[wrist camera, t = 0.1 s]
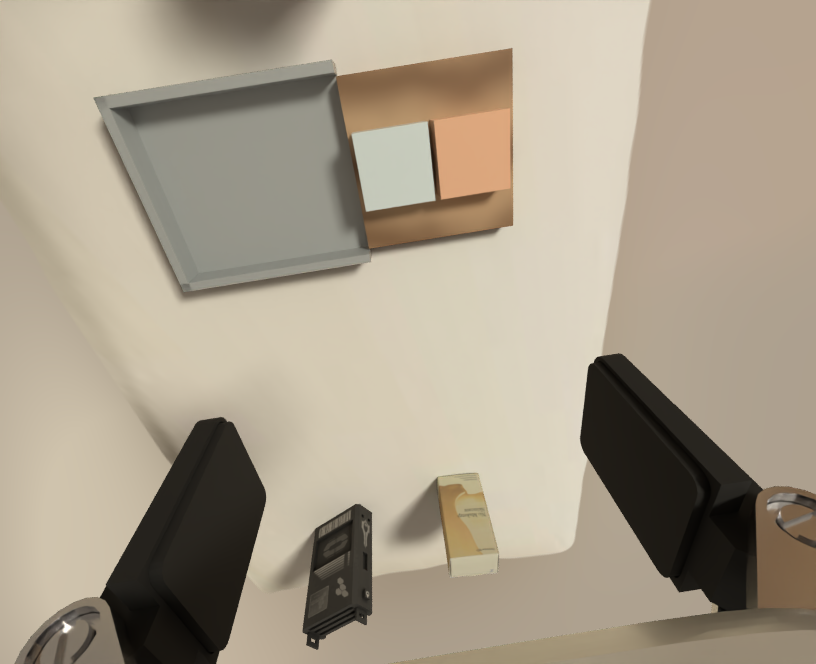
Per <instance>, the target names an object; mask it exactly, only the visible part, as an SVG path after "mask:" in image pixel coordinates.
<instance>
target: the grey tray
mask: <svg viewBox="0 0 816 664" xmlns="http://www.w3.org/2000/svg"><path fill="white" fill-rule="evenodd" d="M336 76H337V72H336V67H335V63H334V62H333V61H332V60H326V61H320V62H314V63H308V64H301V65H295V66H289V67H283V68H276V69H270V70H264V71H257V72H251V73H245V74H239V75H232V76H226V77H220V78H214V79H207V80H201V81H195V82H189V83H182V84H176V85H170V86H163V87H157V88H151V89H145V90H138V91H132V92H126V93H120V94H113V95H107V96H101V97H94V100H95V103H96V105H97V107H98V109H99V111H100V113H101V115H102V118H103V120H104V122H105V124H106V126H107V128H108V131H109V133H110V135H111V137H112V139H113V141H114V143H115V146H116V148H117V150H118V152H119V154H120V156H121V158H122V161H123V163H124V165H125V167H126V169H127V171H128V174H129V176H130V178H131V180H132V182H133V184H134V186H135V189H136V191H137V193H138V195H139V197H140V199H141V201H142V204H143V206H144V208H145V210H146V212H147V214H148V217H149V219H150V221H151V223H152V225H153V227H154V229H155V232H156V234H157V236H158V238H159V240H160V242H161V244H162V247H163V249H164V251H165V253H166V255H167V257H168V260H169V262H170V264H171V266H172V268H173V270H174V272H175V275H176V277H177V279H178V281H179V283H180V285H181V288H182V290H183V292H189V291H195V290H201V289H207V288H213V287H220V286H226V285H232V284H238V283H244V282H251V281H257V280H263V279H269V278H275V277H282V276H288V275H294V274H300V273H306V272H313V271H319V270H325V269H331V268H337V267H344V266H350V265H356V264H362V263H368V262H371V249H369V245H368V240H367V235H366V230H365V225H364V219H363V214H362V209H361V204H360V199H359V194H358V188H357V183H356V178H355V173H354V168H353V163H352V157H351V152H350V147H349V142H348V137H347V132H346V126H345V121H344V116H343V111H342V106H341V101H340V95H339V90H338V85H337V80H336Z"/></svg>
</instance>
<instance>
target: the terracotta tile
mask: <svg viewBox="0 0 816 664" xmlns="http://www.w3.org/2000/svg"><path fill="white" fill-rule="evenodd" d="M430 127H431V138H432V148H433V158H434V169H435V179H436V189H437V195H438V196H439V197H440V199H441V200H442V199H448V198H454V197H460V196H467V195H473V194H479V193H485V192H491V191H498V190H504V189H510V188H511V181H510V108H501V109H495V110H488V111H482V112H476V113H470V114H463V115H457V116H451V117H445V118H438V119H432V120H430Z"/></svg>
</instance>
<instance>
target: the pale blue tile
mask: <svg viewBox="0 0 816 664" xmlns="http://www.w3.org/2000/svg"><path fill="white" fill-rule="evenodd" d="M352 139H353V145H354V150H355V155H356V161H357V166H358V171H359V177H360V182H361V187H362V192H363V198H364V203H365V208H366V212H367V211H373V210H380V209H386V208H392V207H398V206H404V205H411V204H417V203H423V202H429V201H435V191H434V181H433V171H432V160H431V150H430V140H429V130H428V122H427V121H420V122H413V123H407V124H401V125H395V126H388V127H382V128H376V129H370V130H363V131H357V132H352Z"/></svg>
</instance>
